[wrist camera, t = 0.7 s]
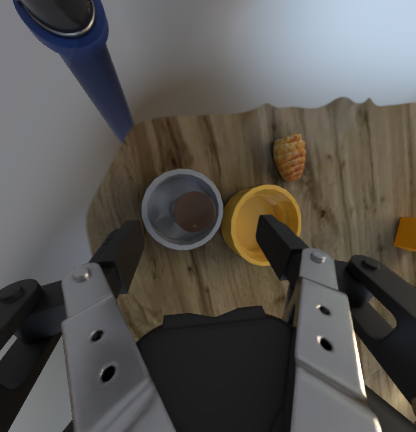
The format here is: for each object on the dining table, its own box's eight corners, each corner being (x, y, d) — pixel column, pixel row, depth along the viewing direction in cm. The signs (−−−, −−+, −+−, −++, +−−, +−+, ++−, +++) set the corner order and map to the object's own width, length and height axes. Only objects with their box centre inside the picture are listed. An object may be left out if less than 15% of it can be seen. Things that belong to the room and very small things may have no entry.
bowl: (210, 247, 31) (219, 255, 26) (232, 177, 32) (246, 171, 26) (269, 263, 35) (288, 273, 30) (288, 201, 36) (310, 200, 30)
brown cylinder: (166, 217, 28) (168, 226, 16) (174, 194, 28) (182, 184, 16) (189, 224, 29) (208, 238, 17) (196, 202, 30) (221, 199, 17)
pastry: (301, 178, 36) (316, 175, 33) (277, 185, 35) (290, 183, 31) (293, 136, 35) (308, 128, 31) (267, 142, 33) (280, 134, 30)
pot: (135, 232, 27) (129, 237, 23) (158, 164, 28) (157, 155, 23) (202, 250, 31) (209, 258, 26) (222, 189, 31) (232, 186, 26)
